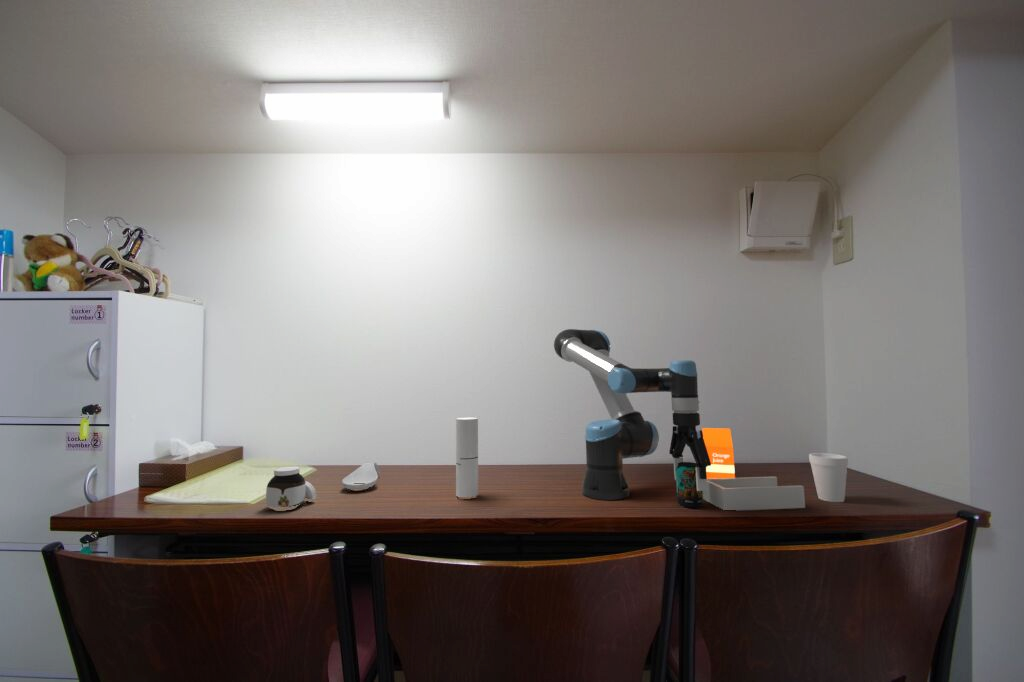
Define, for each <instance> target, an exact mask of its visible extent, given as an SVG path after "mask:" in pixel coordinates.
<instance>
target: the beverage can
mask: <svg viewBox="0 0 1024 682" xmlns="http://www.w3.org/2000/svg"><path fill="white" fill-rule="evenodd" d="M695 465H696V462H692V461H691V462H689V461H683V462H679V463H678V466H677V468H676V480H675V483H676V499H677V500H676V502H677V503H678V505H679V504H680V505H681V507H682V506H684V507H683V508H685V507H688V508H687V509H700V508H702V506H703V505H704V499H703V492H702V491H697V484H696V468H695ZM680 505H679V506H680ZM699 507H700V508H699Z"/></svg>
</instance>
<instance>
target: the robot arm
mask: <svg viewBox="0 0 1024 682" xmlns="http://www.w3.org/2000/svg"><path fill="white" fill-rule="evenodd" d="M554 338H555V339H554V341H553V347H554V349H553V350H554V352H555V353H556V355H557V356H558V357H559V358H561V359H563V360H564V361H566V362H570V363H572V362H573V363H574V364H576V365H578V366H580V367H581V368H583V369H585V370H586V371H588V372H589V374H590V377H591V378H592V380H593V382H594V385H595V387H596V389H597V390H598V391H597V392H598V393H599V395H600V397H601V399H602V401H603V403H604V406H605V408H606V410H607V412H608V414H609V416H610V419H600V420H595V421H592V422H589V423H588V424H587V425H586V428H585V437H584V438H585V450H586V452H585V454H586V456H585V457H586V458H585V459H586V460H585V461H586V462H585V463H586V471H585V474H584V477H583V480H582V485H581V493H582V495H584V496H585V497H587V498H591V499H595V500H606V501H607V500H608V501H612V500H613V501H615V500H617V501H618V500H622V499H626V498H629V496H630V487H629V484H628V481H627V479H626V476H625V473H624V468H623V467H624V466H623V464H624V463H623V460H624V459H631V458H642V457H645V456H649V455H651V454H653V453H654V452H656V450H657V448H658V447H659V446H658V444H659V441H660V436H659V435H660V434H659V431H658V428H657V426H656V425H655V423H653V422H650V421H649V420H645V419H644V416H642V413H641V412H640V411H638V410H635V409H634V407H633V405H632V403H631V401H630V399H629V397H628V396H627V394H632V393H633V394H635V393H658V392H661V393H663V392H664V393H665V392H666V393H667V392H668V393H671V409H672V411H673V412H672V424H673V426H672V435H671V441H670V445H669V446H670V447H669V453H668V454H669V455H671V456H672V458H673V475H674V480H675V481H676V468H677V466H678V463H679V462H684V456H683V452H684V450H685V447H686V446H687V447H689V449H690V452H691V454H692V457H693V459H694V461H695V463H696V465H695V468H696V484H697V491H708V489H707V474H706V467H707V466H711V462H710V458H709V455H708V452H707V449H706V445H705V442H704V439H703V432H702V430H697V426H700V424H701V420H700V419H701V418H700V417H701V416H700V413H699V412H698V411H700V405H699V404H700V400H699V394H698V393H699V389H698V370H697V364H696V362H695V361H693V360H687V359H686V360H674V361H673V360H672V361H670V362H669V367H667V368H665V367H663V368H661V367H659V368H632V367H629V366H627V365H625V364H623V363H622V362H620V361H617V360H615V359H613V358H612V357H610V352H611V347H610V345H611V342H610V339H609V337H608V335H606V333H605V332H603V331H600V330H597V329H589V330H588V329H577V328H576V329H575V328H573V329H572V328H567V329H564V330H562V331H560V332H559V333H558V334H557V335H556V337H554Z"/></svg>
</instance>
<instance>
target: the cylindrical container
mask: <svg viewBox="0 0 1024 682" xmlns="http://www.w3.org/2000/svg"><path fill="white" fill-rule="evenodd" d="M476 495H478V496H479V419H478V417H457V418H455V497H456V496H458V497H472V496H476Z"/></svg>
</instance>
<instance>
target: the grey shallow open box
mask: <svg viewBox="0 0 1024 682" xmlns="http://www.w3.org/2000/svg"><path fill="white" fill-rule="evenodd" d="M707 489H708V491H702V492H703V501H706V502H708V503H709V502H710V504H712V505H713V506H715V507H716V508H718V507H719V508H718V509H720V508H721V509H720V510H722V509H723V510H722V511H724V510H736V511H755V510H756V511H757V510H758V511H759V510H762V511H763V510H782V509H783V510H785V509H786V510H787V509H806V498H805V486H804V485H780V486H779V485H778V477H777V476H751V477H748V476H747V477H746V476H745V477H735V478H714V479H707Z"/></svg>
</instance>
